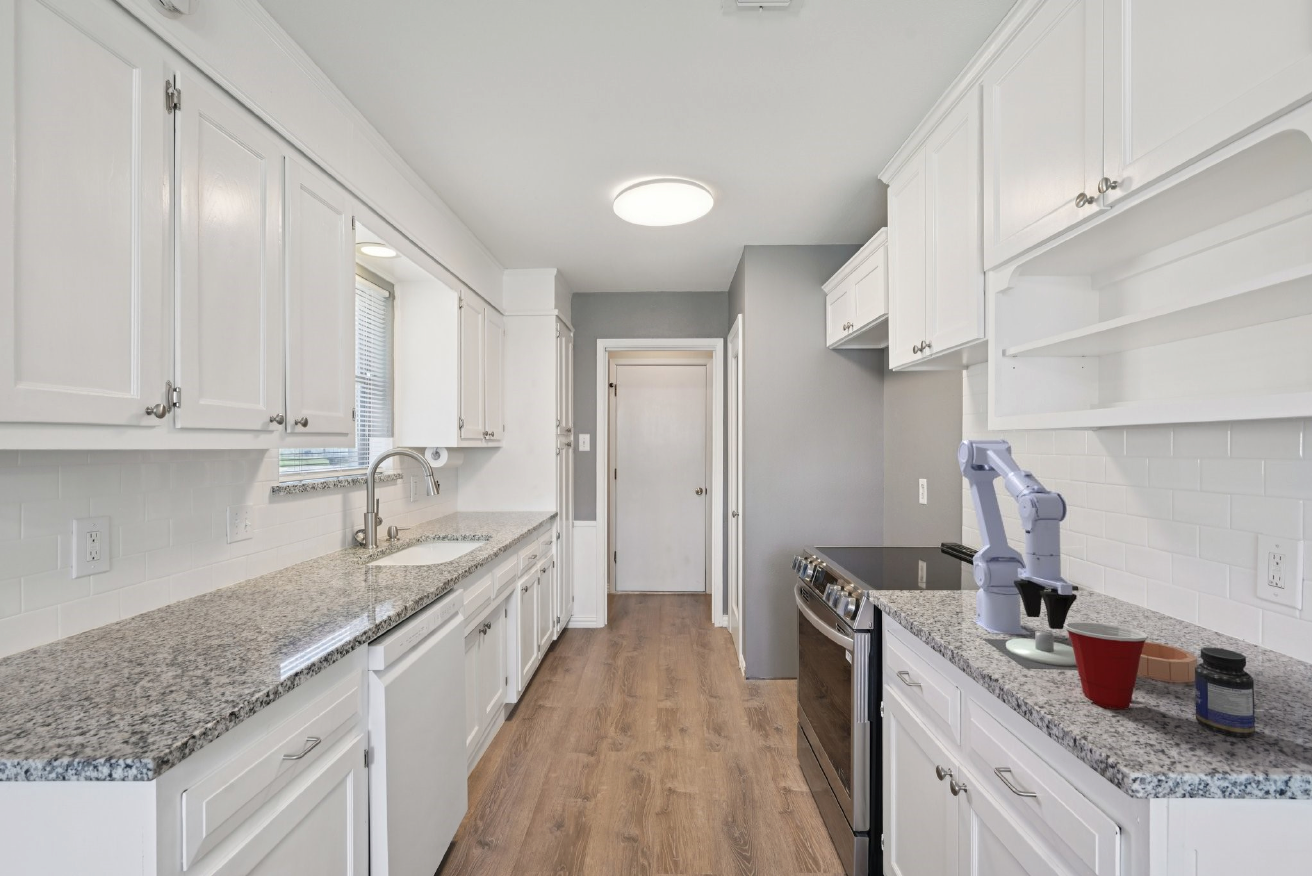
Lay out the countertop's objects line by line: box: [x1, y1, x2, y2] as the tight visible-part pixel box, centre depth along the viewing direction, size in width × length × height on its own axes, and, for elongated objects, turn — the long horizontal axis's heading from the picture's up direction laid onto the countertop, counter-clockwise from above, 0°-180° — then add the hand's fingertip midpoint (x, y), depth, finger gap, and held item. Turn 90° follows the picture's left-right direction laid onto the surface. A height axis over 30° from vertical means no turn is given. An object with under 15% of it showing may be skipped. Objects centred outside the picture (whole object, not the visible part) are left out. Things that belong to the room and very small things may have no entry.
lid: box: [1006, 630, 1077, 666], centre depth 111 cm, size 13×13×4 cm
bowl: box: [1137, 640, 1198, 683], centre depth 102 cm, size 11×11×4 cm
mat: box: [982, 638, 1078, 671], centre depth 111 cm, size 16×16×1 cm
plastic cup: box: [1063, 621, 1149, 710], centre depth 91 cm, size 11×11×12 cm
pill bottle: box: [1194, 646, 1256, 738], centre depth 82 cm, size 6×6×11 cm
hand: (1044, 622), depth 111 cm, fingers open, 7 cm apart
